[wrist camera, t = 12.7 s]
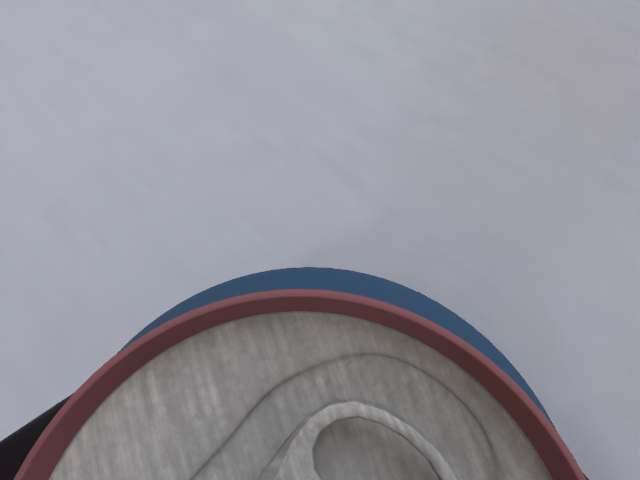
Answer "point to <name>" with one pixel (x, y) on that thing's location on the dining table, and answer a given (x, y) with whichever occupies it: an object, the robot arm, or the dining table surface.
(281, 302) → the soda can
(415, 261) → the dining table surface
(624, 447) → the dining table surface
